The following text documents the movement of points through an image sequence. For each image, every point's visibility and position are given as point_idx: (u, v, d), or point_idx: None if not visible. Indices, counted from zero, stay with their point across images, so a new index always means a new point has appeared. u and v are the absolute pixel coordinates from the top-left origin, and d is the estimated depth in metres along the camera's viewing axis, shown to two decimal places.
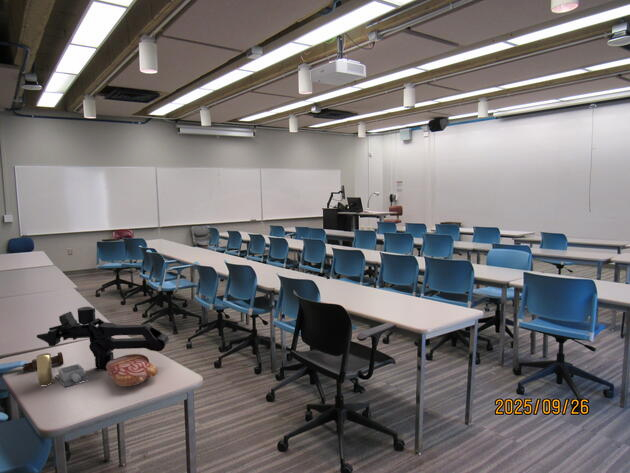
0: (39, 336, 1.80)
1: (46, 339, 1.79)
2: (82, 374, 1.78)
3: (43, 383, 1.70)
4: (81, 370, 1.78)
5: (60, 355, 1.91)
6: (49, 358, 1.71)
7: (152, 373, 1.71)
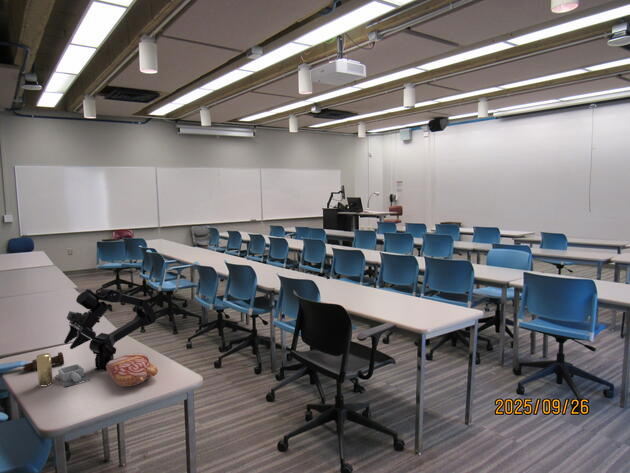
0: (73, 345, 1.73)
1: (82, 341, 1.75)
2: (82, 374, 1.78)
3: (43, 383, 1.70)
4: (81, 370, 1.78)
5: (61, 355, 1.91)
6: (49, 358, 1.71)
7: (152, 373, 1.72)
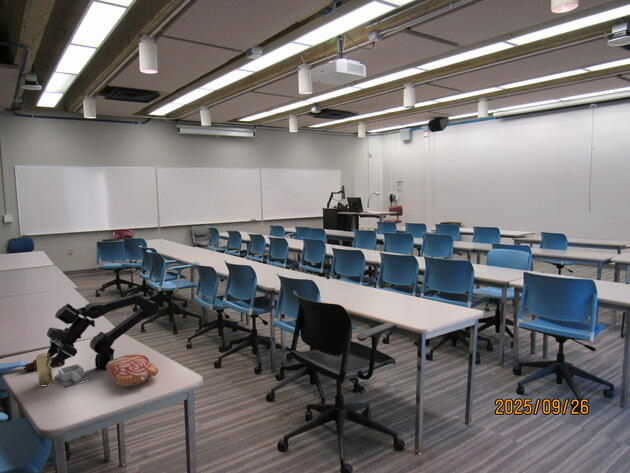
0: (53, 363, 1.69)
1: (62, 358, 1.70)
2: (82, 374, 1.78)
3: (43, 383, 1.70)
4: (81, 370, 1.78)
5: None
6: (49, 358, 1.71)
7: (153, 373, 1.72)
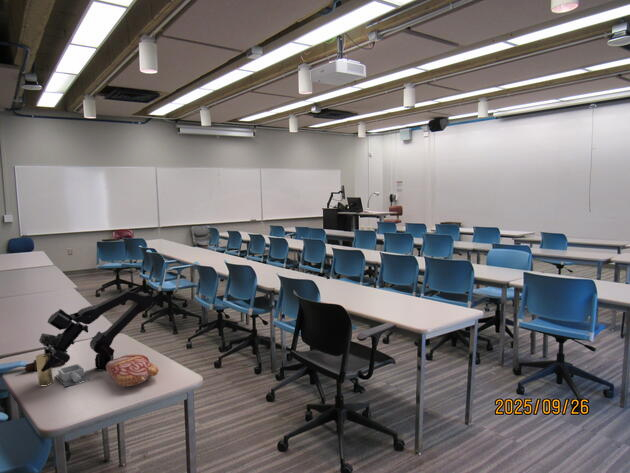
0: (44, 368, 1.69)
1: (54, 363, 1.70)
2: (82, 374, 1.78)
3: (43, 383, 1.70)
4: (81, 370, 1.78)
5: None
6: None
7: (153, 373, 1.72)
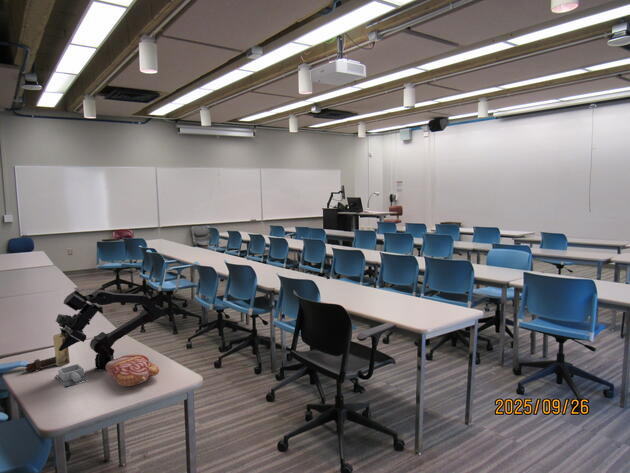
0: (62, 347, 1.73)
1: (71, 342, 1.74)
2: (82, 374, 1.78)
3: (60, 362, 1.74)
4: (81, 370, 1.78)
5: None
6: None
7: (154, 372, 1.72)
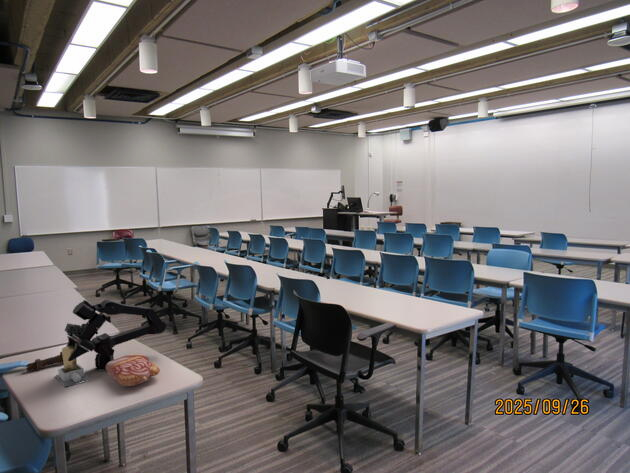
0: (71, 357, 1.74)
1: (80, 352, 1.75)
2: (82, 374, 1.78)
3: None
4: (81, 370, 1.78)
5: None
6: None
7: (155, 372, 1.72)
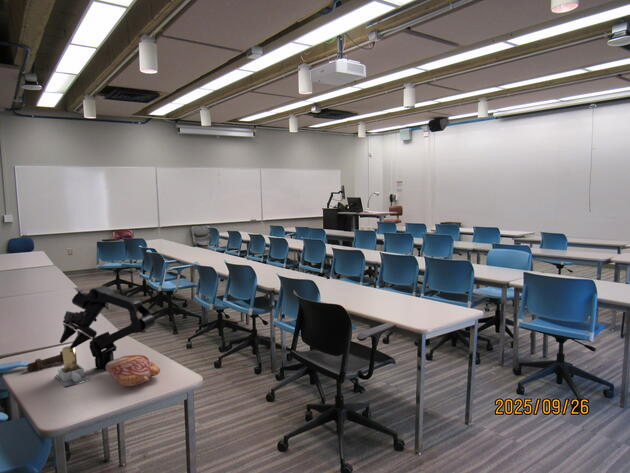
0: (73, 345, 1.75)
1: (82, 340, 1.77)
2: (82, 374, 1.78)
3: None
4: (81, 370, 1.78)
5: None
6: (74, 350, 1.77)
7: (156, 372, 1.72)
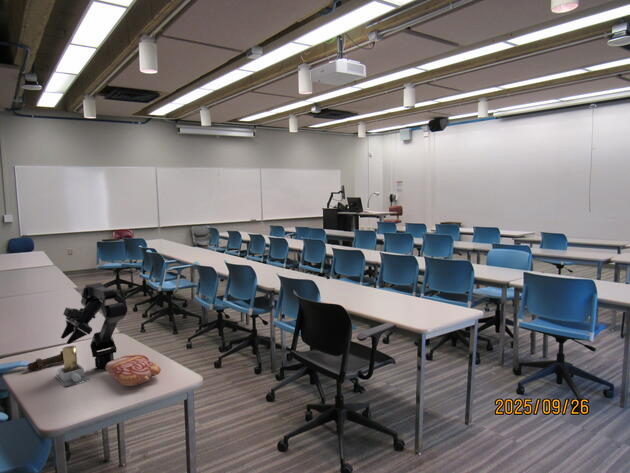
0: (70, 340, 1.80)
1: (78, 336, 1.81)
2: (82, 374, 1.78)
3: None
4: (81, 370, 1.78)
5: None
6: (75, 350, 1.78)
7: (156, 372, 1.73)
